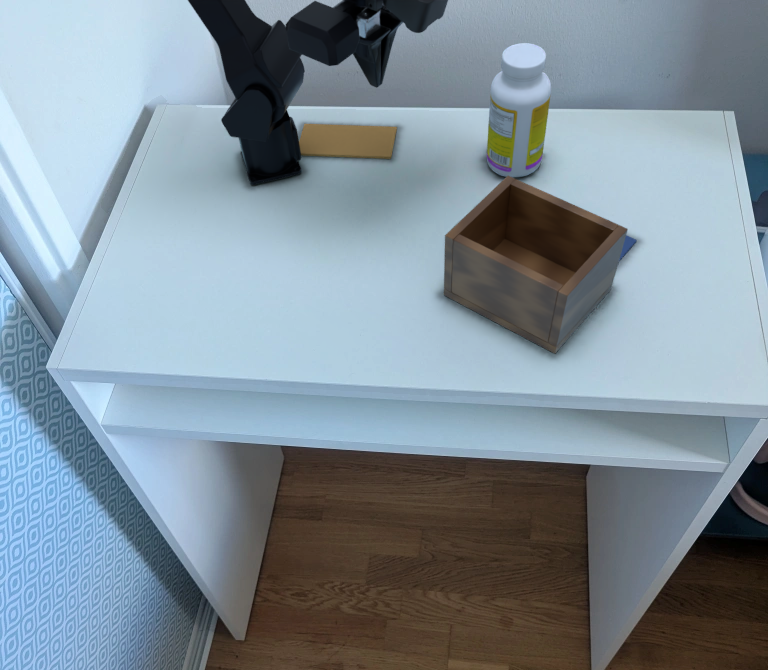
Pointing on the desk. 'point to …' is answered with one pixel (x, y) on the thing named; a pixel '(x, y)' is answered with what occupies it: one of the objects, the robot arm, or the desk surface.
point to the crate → (531, 262)
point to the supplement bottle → (518, 111)
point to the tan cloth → (347, 141)
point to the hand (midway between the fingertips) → (376, 85)
